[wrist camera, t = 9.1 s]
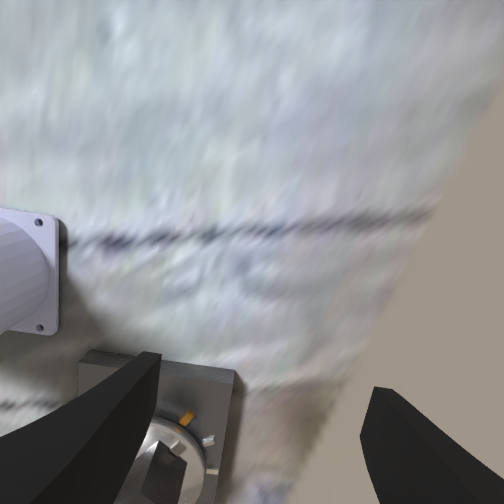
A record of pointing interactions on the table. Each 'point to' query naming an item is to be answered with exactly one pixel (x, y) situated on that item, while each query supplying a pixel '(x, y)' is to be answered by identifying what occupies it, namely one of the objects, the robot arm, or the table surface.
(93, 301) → the table surface
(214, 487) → the dial plate
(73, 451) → the robot arm
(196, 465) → the dial
